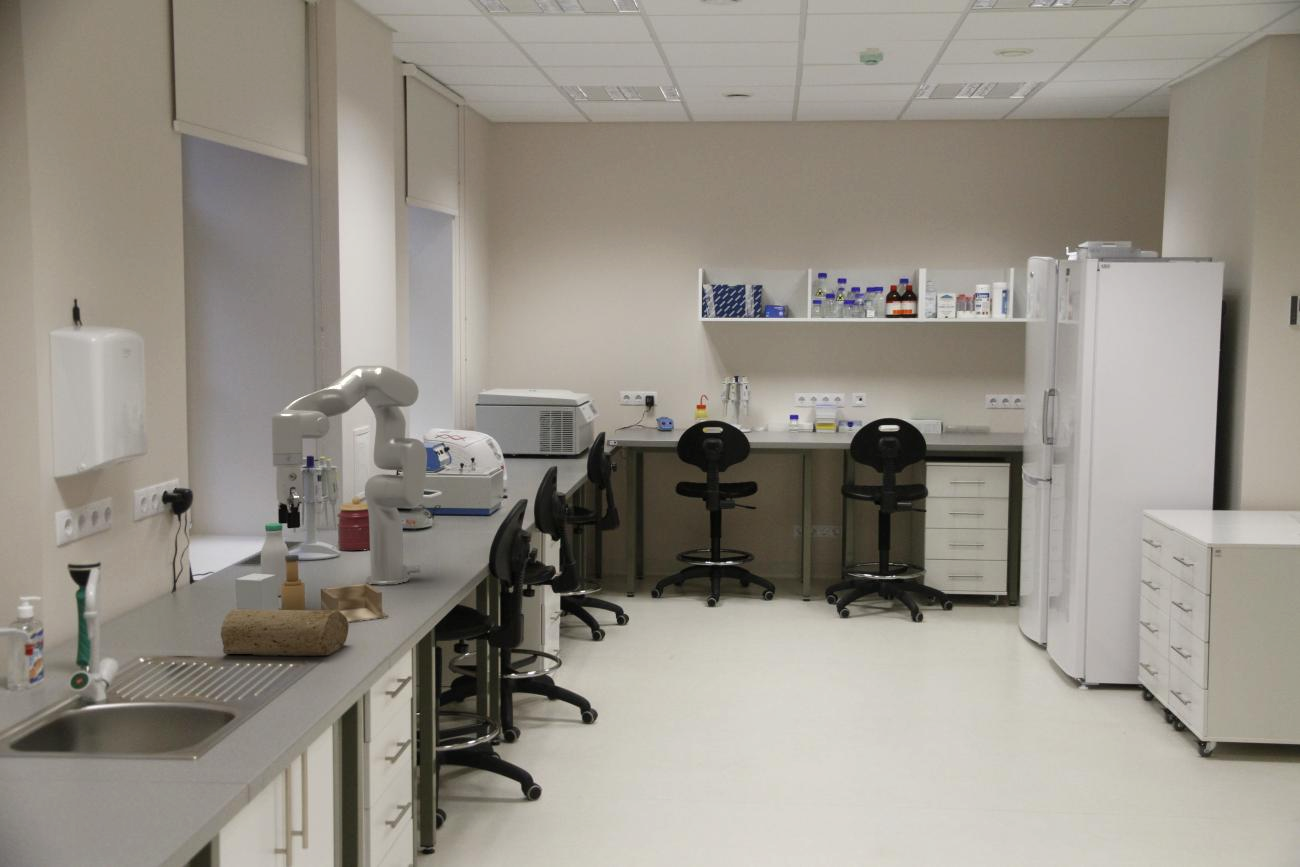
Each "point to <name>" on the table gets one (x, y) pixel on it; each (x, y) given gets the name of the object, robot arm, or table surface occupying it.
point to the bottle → (292, 586)
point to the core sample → (284, 632)
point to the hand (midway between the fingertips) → (289, 525)
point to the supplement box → (257, 592)
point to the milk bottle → (274, 554)
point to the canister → (354, 526)
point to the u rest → (354, 602)
